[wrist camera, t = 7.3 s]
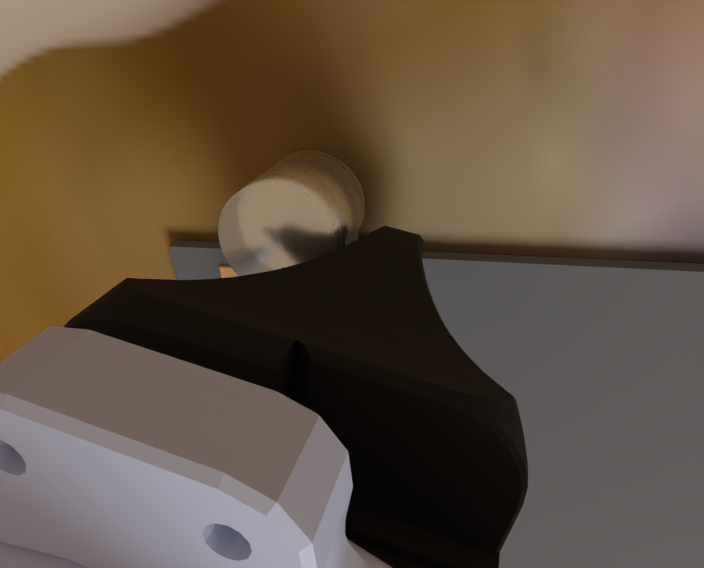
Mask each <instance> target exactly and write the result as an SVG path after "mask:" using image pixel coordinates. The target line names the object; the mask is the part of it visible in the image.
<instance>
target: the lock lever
mask: <svg viewBox="0 0 704 568" xmlns="http://www.w3.org/2000/svg"><path fill="white" fill-rule="evenodd" d="M364 215H365V196H364V192H363V189H362V186H361V184H360V182H359V180H358V178H357V177H356V175H355V174H354V172H353V171H352V170H351V169H350V168H349V167H348V166H347V165H346V164H345V163H344V162H343V161H341V160H340V159H339V158H337V157H335V156H333V155H331V154H329V153H326V152H323V151H319V150H301V151H297V152H294V153H292V154H290V155H288V156H286V157H285V158H283V159H282V160H280V161H279V162H278V163H276V164H275V165H274V166H272V167H271V168H270V169H268V170H267V171H265V172H264V173H263V174H261V175H260V176H259V177H257V178H256V179H255V180H253V181H252V182H250V183H249V184H248V185H246V186H245V187H244V188H242V189H241V190H240V191H238V192H237V193H235V194H234V195H233V196H232V197H231V198H230V199H229V200H228V201H227V203H226V204H225V205H224V207H223V209H222V212H221V215H220V218H219V224H218V235H219V241H220V246H221V249H222V251H223V254H224V256H225V258H226V260H227V262H228V263H229V265H230V266H231V268H232V269H233V270H234V272H235V273H236V274H237V275H238V276H243V275H249V274H255V273H261V272H267V271H272V270H277V269H281V268H285V267H288V266H292V265H296V264H299V263H302V262H306V261H308V260H311V259H314V258H316V257H319V256H321V255H324V254H326V253H329V252H331V251H334V250H336V249H339V248H341V247H343V246H345V245H347V244H349V243H352V242H354V241H356V240H358V230H359V229H360V227H361V225H362V222H363V219H364Z"/></svg>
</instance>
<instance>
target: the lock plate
mask: <svg viewBox="0 0 704 568" xmlns="http://www.w3.org/2000/svg"><path fill="white" fill-rule="evenodd" d="M169 250H170V254H171V258H172V261H173V265H174V269H175V273H176V276H177V280H199V279H216V278H228V277H237V276H238V275H237V274H236V273H235V272H234V270H233V269H232V268H231V266H230V265H229V263H228V262H227V260H226V258H225V256H224V254H223V251H222V249H221V246H220V242H203V241H180V240H176V241H175V242H174V243H172V244H171V245H170V246H169ZM422 262H423V268H424V272H425V276H426V281H427V284H428V287H429V290H430V293H431V296H432V299H433V301H434V304H435V306H436V308H437V311H438V313H439V315H440V317H441V319H442V321H443V322H444V324H445V326H446V328H447V329H448V331H449V332H450V334H451V335H452V337H453V338H454V339H455V341H456V342H457V343H458V345H459V346H460V347H461V348H462V350H463V351H464V352H465V353H466V354H467V355H468V356H469V357H470V358H471V359H472V361H473V362H474V363H475V364H476V365H477V366H478V367H479V368H480V369H481V370H482V371H483V372H484V373H486V374H487V375H488V376H489V377H490V378H492V379H493V380H494V381H495V382H497V383H498V384H499V385H500V386H501V387H503V388H504V389H505V390H506V391H508V392H509V393H510V394H511V395H512V396H514V398H515V399H516V402H517V406H518V410H519V414H520V419H521V423H522V427H523V433H524V439H525V445H526V453H527V460H528V489H527V493H526V496H525V500H524V504H523V507H522V509H521V511H520V513H519V515H518V517H517V519H516V521H515V523H514V525H513V527H512V529H511V531H510V533H509V535H508V537H507V539H506V541H505V543H504V545H503V547H502V549H501V551H500V557H499V568H704V264H702V263H679V262H656V261H634V260H611V259H588V258H566V257H543V256H520V255H498V254H475V253H452V252H430V251H422Z"/></svg>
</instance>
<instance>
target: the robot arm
mask: <svg viewBox="0 0 704 568" xmlns="http://www.w3.org/2000/svg"><path fill="white" fill-rule="evenodd" d="M423 242H424V241H423V239H422V238H421V236H420V235H418V234H414V233H410V232H406V231H403V230H399V229H395V228H391V227H388V226H384V227H381V228H379V229H377V230H375V231H373V232H371V233H370V234H368V235H366V236H364V237H362V238H360V239H358V240H356V241H354V242H352V243H349V244H347V245H345V246H343V247H341V248H339V249H336V250H334V251H331V252H329V253H326V254H324V255H321V256H319V257H316V258H314V259H311V260H308V261H306V262H302V263H299V264H296V265H292V266H288V267H285V268H281V269H277V270H272V271H267V272H261V273H255V274H249V275H243V276H237V277H228V278H216V279H199V280H161V279H134V278H126V279H125V280H124V281H122V282H121V283H119V284H118V285H116V286H115V287H114V288H112V289H111V290H110V291H108V292H107V293H106V294H104V295H103V296H102V297H100V298H99V299H98V300H96V301H95V302H94V303H92V304H91V305H90V306H88V307H87V308H85V309H84V310H83V311H81V312H80V313H79V314H77V315H76V316H75V317H73V318H72V319H71V320H70V321H69V322H68V323H67V324H66V325H65V326H64V327H53V326H51V327H49V328H48V329H47V330H45V331H44V332H42V333H41V334H40V335H38V336H37V337H35V338H34V339H33V340H31V341H30V342H28V343H27V344H26V345H24V346H23V347H21V348H20V349H19V350H17V351H16V352H15V353H13V354H12V355H10V356H9V357H8V358H6V359H5V360H4V361H2V362H1V363H0V568H499V557H500V551H501V549H502V547H503V545H504V543H505V541H506V539H507V537H508V535H509V533H510V531H511V529H512V527H513V525H514V523H515V521H516V519H517V517H518V515H519V513H520V511H521V509H522V507H523V504H524V500H525V496H526V493H527V489H528V460H527V453H526V445H525V439H524V433H523V427H522V423H521V419H520V414H519V410H518V406H517V402H516V399H515V398H514V396H512V395H511V394H510V393H509V392H508V391H506V390H505V389H504V388H503V387H501V386H500V385H499V384H498V383H497V382H495V381H494V380H493V379H492V378H490V377H489V376H488V375H487V374H486V373H484V372H483V371H482V370H481V369H480V368H479V367H478V366H477V365H476V364H475V363H474V362H473V361H472V359H471V358H470V357H469V356H468V355H467V354H466V353H465V352H464V351H463V350H462V348H461V347H460V346H459V345H458V343H457V342H456V341H455V339H454V338H453V337H452V335H451V334H450V332H449V331H448V329H447V328H446V326H445V324H444V322H443V321H442V319H441V317H440V315H439V313H438V311H437V308H436V306H435V304H434V301H433V299H432V296H431V293H430V290H429V287H428V284H427V281H426V276H425V272H424V268H423V262H422V246H423Z"/></svg>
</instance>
